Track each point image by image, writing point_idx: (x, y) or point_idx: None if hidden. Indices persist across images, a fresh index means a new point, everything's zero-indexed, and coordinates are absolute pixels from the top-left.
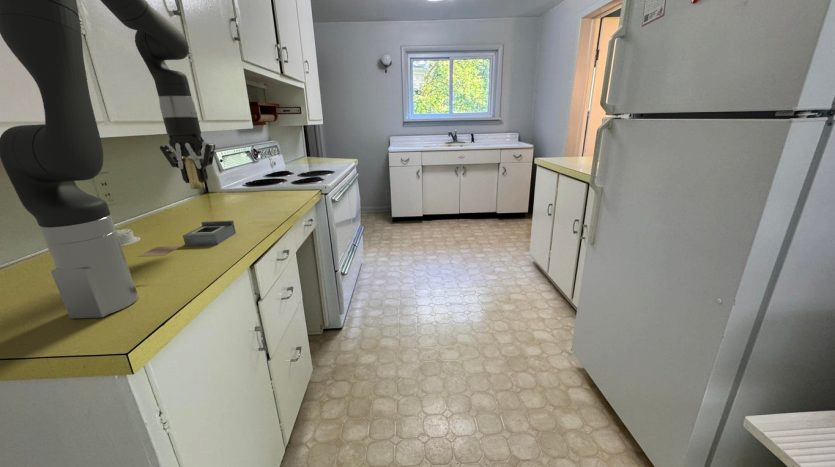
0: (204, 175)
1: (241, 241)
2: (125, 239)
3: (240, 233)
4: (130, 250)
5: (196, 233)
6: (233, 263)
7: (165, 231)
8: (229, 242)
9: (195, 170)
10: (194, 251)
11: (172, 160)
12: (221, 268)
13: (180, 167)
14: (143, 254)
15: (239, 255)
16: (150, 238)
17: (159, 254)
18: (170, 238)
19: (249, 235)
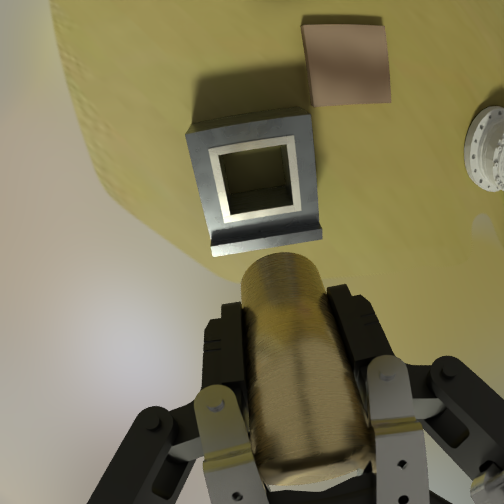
0: (204, 348)
1: (161, 186)
2: (488, 143)
3: None
4: (455, 109)
5: (272, 138)
6: (58, 37)
7: (453, 249)
8: None
9: (258, 369)
10: (254, 89)
11: (462, 404)
12: (67, 5)
13: (388, 367)
14: (379, 40)
15: (79, 85)
16: (461, 199)
17: (327, 34)
18: (414, 199)
19: (178, 236)
